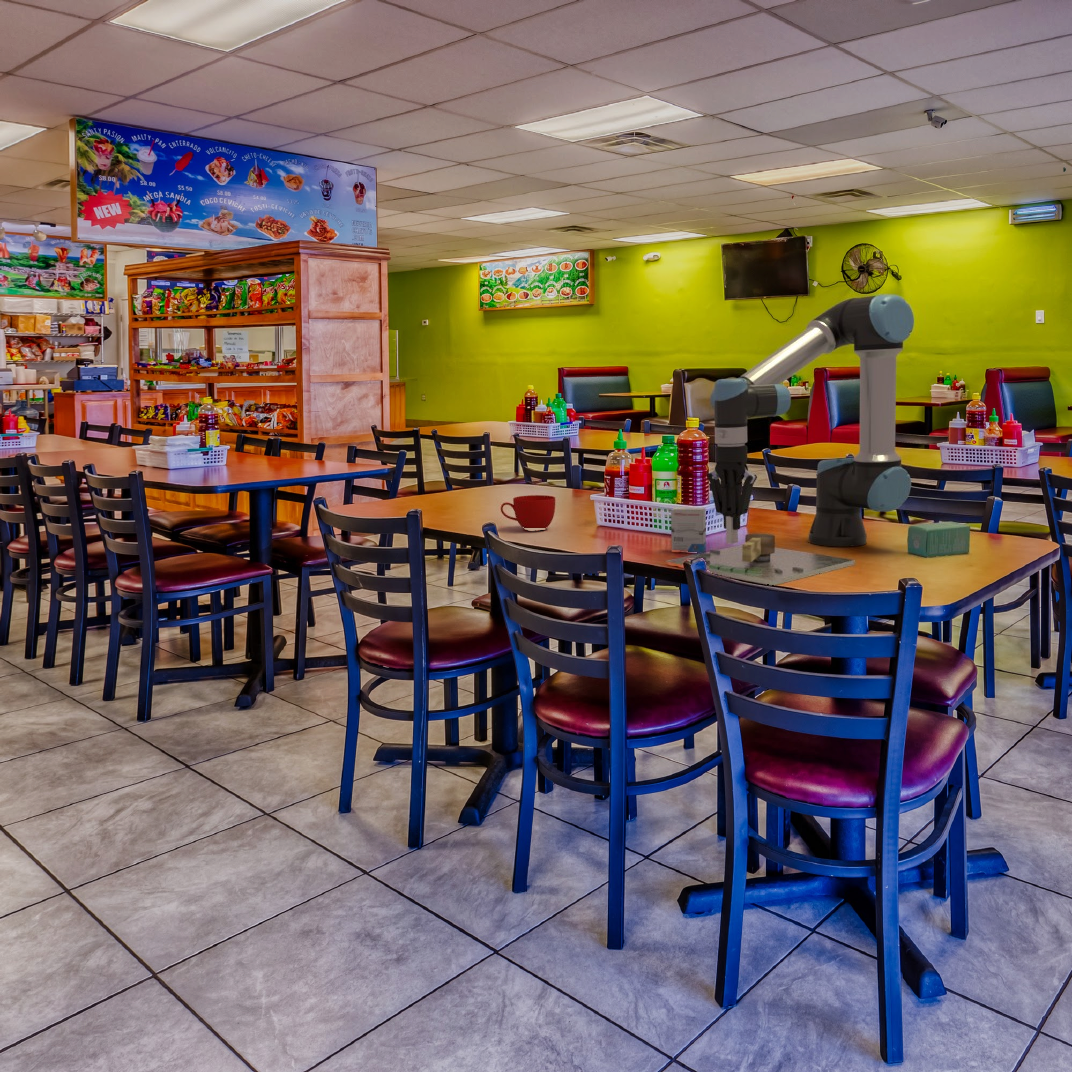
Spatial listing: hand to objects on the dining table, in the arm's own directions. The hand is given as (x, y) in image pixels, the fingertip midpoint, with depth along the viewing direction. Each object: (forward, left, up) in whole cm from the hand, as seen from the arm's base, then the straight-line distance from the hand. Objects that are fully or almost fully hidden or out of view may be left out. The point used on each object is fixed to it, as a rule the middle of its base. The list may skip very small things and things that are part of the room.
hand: (732, 542), depth 228 cm
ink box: (-9, -22, -7) cm, 24 cm away
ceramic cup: (-1, -80, -7) cm, 80 cm away
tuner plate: (-8, +2, -6) cm, 10 cm away
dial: (-2, +5, -3) cm, 6 cm away
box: (-51, +25, -7) cm, 57 cm away
